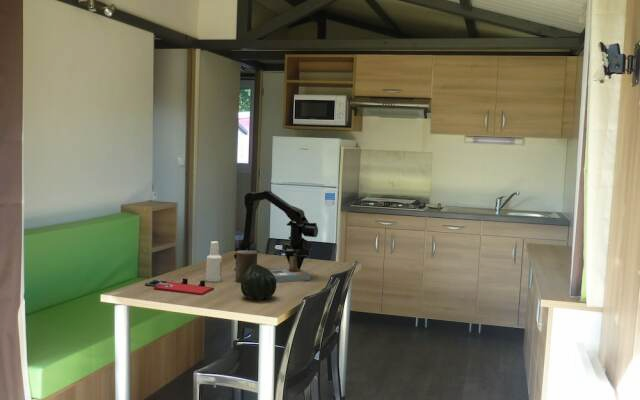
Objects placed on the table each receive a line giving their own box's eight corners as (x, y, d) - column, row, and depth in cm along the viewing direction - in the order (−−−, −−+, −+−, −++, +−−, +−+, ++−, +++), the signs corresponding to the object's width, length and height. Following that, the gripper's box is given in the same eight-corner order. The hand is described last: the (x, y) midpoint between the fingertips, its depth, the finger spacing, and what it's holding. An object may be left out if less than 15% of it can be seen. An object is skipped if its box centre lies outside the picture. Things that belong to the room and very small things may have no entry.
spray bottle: (223, 280, 274) (225, 241, 273) (215, 282, 268) (216, 243, 267) (211, 278, 277) (212, 240, 276) (202, 280, 271) (204, 241, 269)
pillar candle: (252, 284, 269) (254, 251, 268) (232, 281, 271) (233, 249, 270) (258, 279, 279) (260, 248, 278) (239, 278, 281) (240, 246, 280)
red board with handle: (156, 281, 267) (137, 288, 252) (156, 274, 266) (138, 282, 252) (217, 288, 259) (202, 297, 245) (217, 282, 259) (202, 290, 245)
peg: (292, 278, 285) (293, 257, 284) (288, 276, 289) (289, 256, 288) (299, 277, 287) (300, 257, 286) (296, 276, 291) (297, 256, 290)
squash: (288, 287, 243) (272, 256, 249) (261, 293, 232) (245, 261, 238) (270, 304, 251) (254, 274, 257) (243, 311, 240) (228, 280, 246)
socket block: (276, 282, 274) (276, 275, 274) (264, 276, 286) (265, 269, 285) (310, 280, 283) (310, 273, 283) (297, 274, 295) (298, 267, 294)
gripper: (320, 237, 282) (318, 269, 283) (302, 232, 298) (300, 262, 300) (299, 238, 277) (297, 271, 278) (282, 232, 293) (280, 263, 294)
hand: (294, 267), depth 288 cm, fingers open, 9 cm apart
